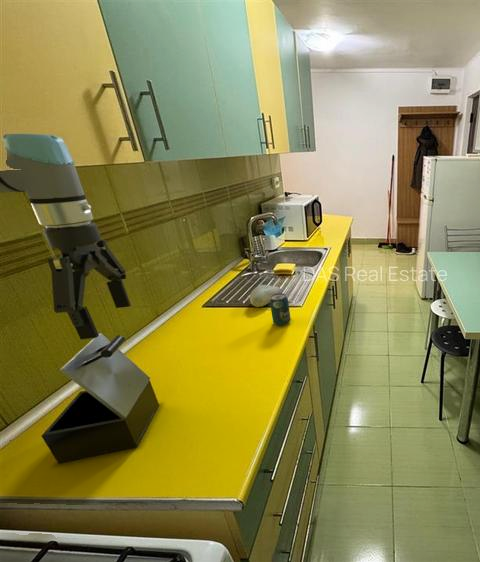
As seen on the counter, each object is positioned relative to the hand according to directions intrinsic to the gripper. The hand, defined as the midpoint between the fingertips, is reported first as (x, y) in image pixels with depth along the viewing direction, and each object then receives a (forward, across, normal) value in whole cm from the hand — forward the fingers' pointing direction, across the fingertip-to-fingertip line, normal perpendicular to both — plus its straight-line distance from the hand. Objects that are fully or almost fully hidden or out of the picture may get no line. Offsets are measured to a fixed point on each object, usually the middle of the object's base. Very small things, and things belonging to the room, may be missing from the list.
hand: (108, 320), depth 66 cm
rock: (+31, +67, -23) cm, 77 cm away
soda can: (+31, +44, -32) cm, 62 cm away
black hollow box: (+31, 0, +8) cm, 32 cm away
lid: (+14, 0, +4) cm, 15 cm away
